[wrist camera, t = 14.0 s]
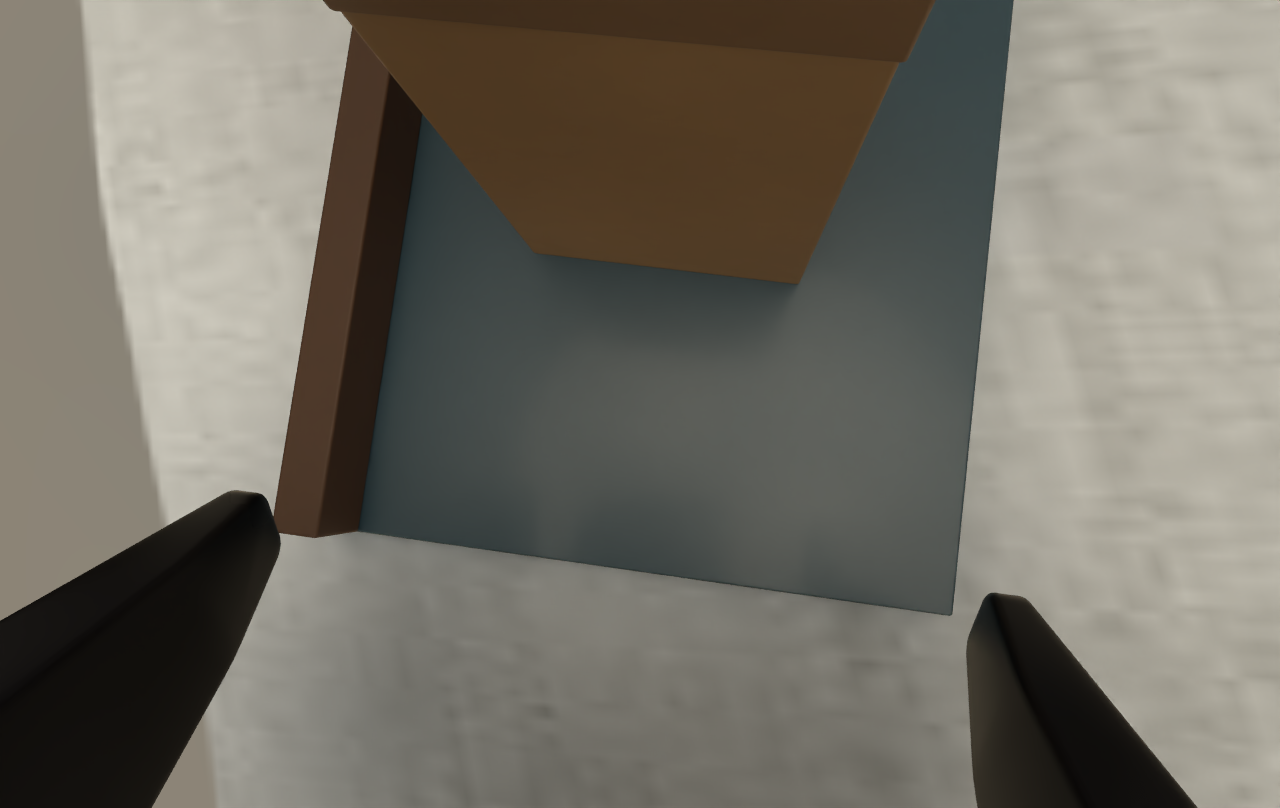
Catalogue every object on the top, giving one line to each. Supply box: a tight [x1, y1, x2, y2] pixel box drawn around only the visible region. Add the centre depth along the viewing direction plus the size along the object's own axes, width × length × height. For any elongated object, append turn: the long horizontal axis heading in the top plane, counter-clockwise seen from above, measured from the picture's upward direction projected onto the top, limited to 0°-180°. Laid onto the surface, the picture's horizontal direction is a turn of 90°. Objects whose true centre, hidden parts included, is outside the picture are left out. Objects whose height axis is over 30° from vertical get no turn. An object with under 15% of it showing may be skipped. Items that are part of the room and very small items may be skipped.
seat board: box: [273, 0, 1014, 616], centre depth 18 cm, size 20×14×3 cm
